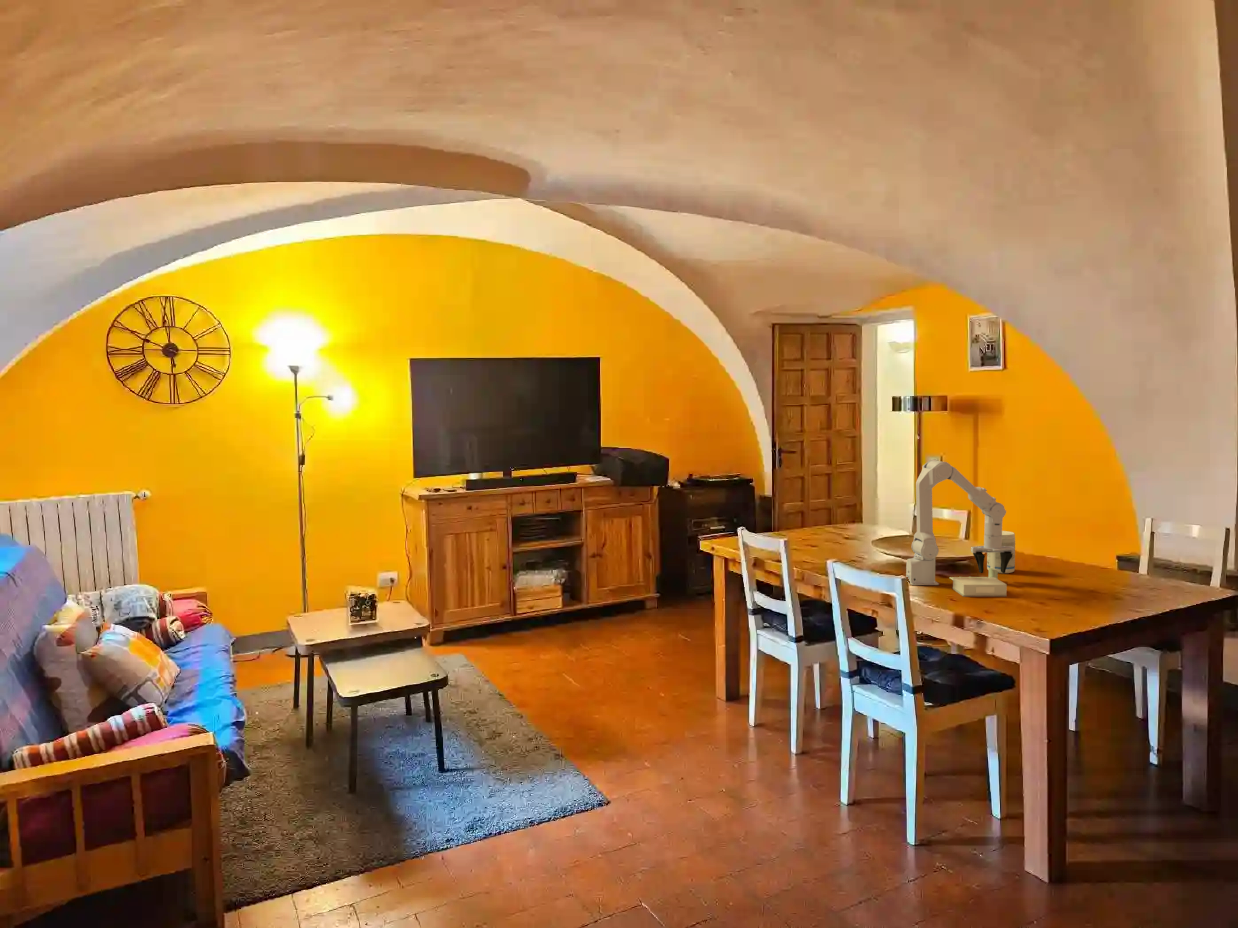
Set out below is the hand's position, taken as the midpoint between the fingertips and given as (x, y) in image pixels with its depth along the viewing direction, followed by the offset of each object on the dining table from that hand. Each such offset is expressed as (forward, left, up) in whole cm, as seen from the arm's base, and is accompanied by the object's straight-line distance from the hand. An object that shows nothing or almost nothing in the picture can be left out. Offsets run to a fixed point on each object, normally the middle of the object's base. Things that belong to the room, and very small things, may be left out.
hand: (992, 572), depth 295 cm
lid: (-6, 0, -4) cm, 7 cm away
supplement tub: (+10, +16, -3) cm, 19 cm away
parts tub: (-10, -16, -3) cm, 19 cm away
